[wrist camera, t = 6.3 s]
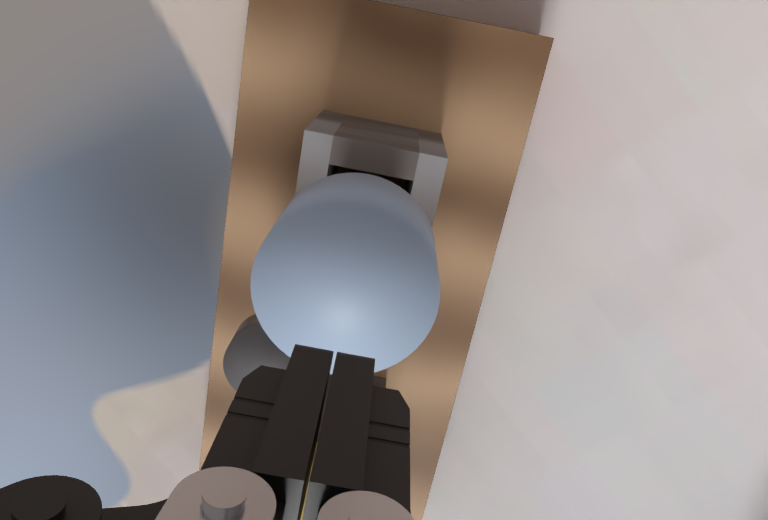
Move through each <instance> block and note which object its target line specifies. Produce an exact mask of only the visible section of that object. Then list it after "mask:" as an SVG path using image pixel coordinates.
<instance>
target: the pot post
mask: <svg viewBox="0 0 768 520" xmlns="http://www.w3.org/2000/svg"><path fill="white" fill-rule="evenodd" d="M289 360H290V357H289V356H287V355H286V354H285V353H284V352H283V351H281V350H280V349H279V348H278V347H277V346H276V345H275V344H274V343H273V342H272V341H271V340H270V338H269V337H268V335H267V334H266V333H265V331H264V330H263V328H262V326H261V324H260V323H259V321H258V318H257V316H256V314H254V315H252V316H250V317H248V318H247V319H246V320H244V321H243V322H242V323H241V325H240V326H239V328H238V329H237V331H236V333H235V335H234V337H233V338H232V340H231V342H230V344H229V346H228V348H227V349H226V351H225V354H224V358H223V370H224V374H225V376H226V379H227V380H228V382H229V384H230V385H231V386H232V387H233V388H234V389H235V390H236V391H237V390H238V387H239V385H240V383H241V381H242V379H243V378H244V377H245V376H247V375H248V374H250V373H251V372H252V371H254V370H255V369H257V368H258V367H259V366H261V365H263V366H268V367H274V368H279V369H285V370H286V369H287V366H288V363H289Z"/></svg>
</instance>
